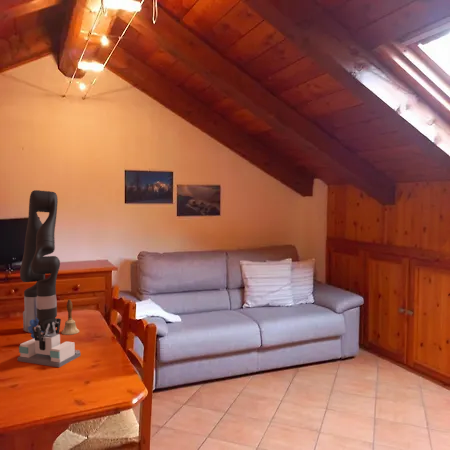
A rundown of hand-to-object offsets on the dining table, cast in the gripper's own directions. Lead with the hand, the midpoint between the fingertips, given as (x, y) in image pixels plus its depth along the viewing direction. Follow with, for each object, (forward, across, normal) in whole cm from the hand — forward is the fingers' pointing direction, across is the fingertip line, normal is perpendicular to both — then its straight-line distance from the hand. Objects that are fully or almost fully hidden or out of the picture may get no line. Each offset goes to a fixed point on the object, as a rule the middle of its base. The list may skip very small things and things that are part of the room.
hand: (47, 347), depth 177 cm
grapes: (+5, -15, -16) cm, 23 cm away
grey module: (+2, 0, 0) cm, 2 cm away
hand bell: (+5, -32, -14) cm, 35 cm away
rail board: (+5, -1, 0) cm, 5 cm away
